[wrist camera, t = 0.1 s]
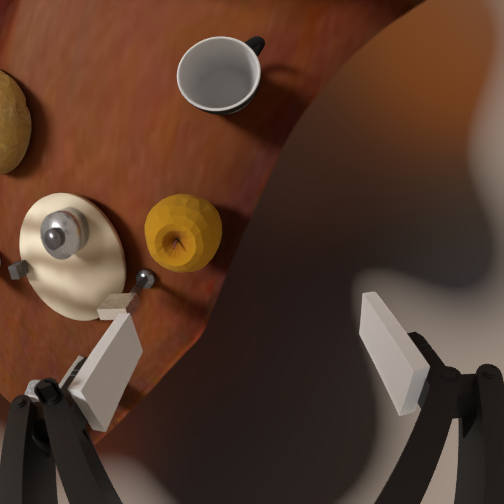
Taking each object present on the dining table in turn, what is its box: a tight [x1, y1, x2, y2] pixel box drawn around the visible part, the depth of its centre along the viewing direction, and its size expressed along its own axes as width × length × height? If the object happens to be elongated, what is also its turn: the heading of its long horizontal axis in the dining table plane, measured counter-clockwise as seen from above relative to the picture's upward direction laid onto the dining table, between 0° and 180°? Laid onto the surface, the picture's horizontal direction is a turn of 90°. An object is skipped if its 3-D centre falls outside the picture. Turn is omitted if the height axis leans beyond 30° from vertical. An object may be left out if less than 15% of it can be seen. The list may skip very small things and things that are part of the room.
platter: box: [8, 193, 126, 321], centre depth 41 cm, size 22×23×4 cm
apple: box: [145, 194, 222, 272], centre depth 37 cm, size 10×10×12 cm
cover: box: [40, 207, 89, 260], centre depth 37 cm, size 7×7×6 cm
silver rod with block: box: [97, 268, 156, 320], centre depth 40 cm, size 3×5×12 cm, turn 96°
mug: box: [177, 36, 265, 115], centre depth 31 cm, size 12×9×10 cm
